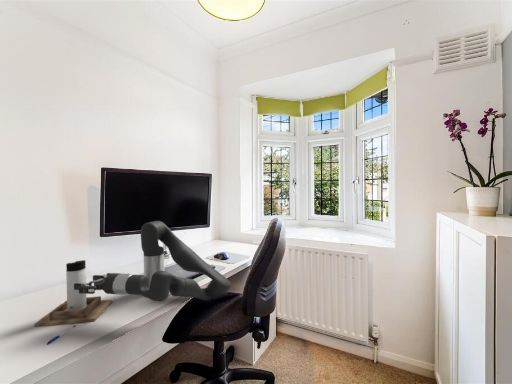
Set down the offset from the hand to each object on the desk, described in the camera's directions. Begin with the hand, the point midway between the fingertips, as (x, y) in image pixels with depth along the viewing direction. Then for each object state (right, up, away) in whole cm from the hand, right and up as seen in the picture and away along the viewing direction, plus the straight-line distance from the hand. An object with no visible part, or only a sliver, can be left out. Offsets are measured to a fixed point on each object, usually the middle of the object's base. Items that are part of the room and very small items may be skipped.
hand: (84, 281), depth 96 cm
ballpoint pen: (+1, -14, -13) cm, 19 cm away
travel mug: (-4, -12, +2) cm, 13 cm away
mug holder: (-4, -13, +2) cm, 14 cm away
